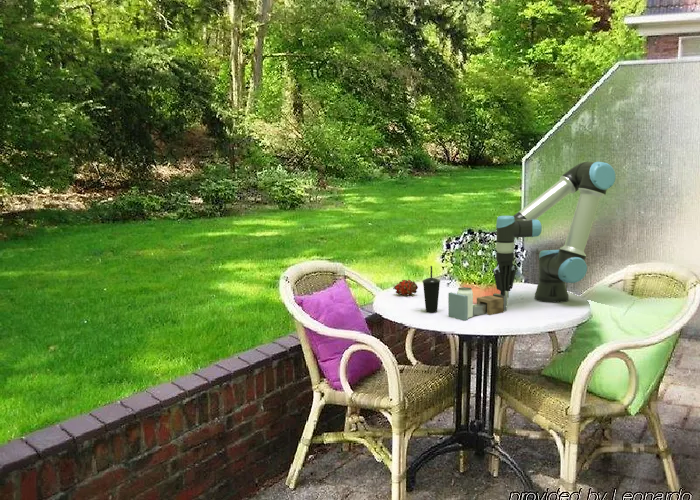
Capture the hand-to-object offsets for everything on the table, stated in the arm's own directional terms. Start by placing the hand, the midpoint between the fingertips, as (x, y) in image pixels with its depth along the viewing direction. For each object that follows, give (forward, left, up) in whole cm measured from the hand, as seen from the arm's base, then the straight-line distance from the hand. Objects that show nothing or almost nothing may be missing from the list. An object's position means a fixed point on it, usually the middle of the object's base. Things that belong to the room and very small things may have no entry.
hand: (504, 305), depth 304 cm
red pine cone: (+15, -51, -2) cm, 53 cm away
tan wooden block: (+9, 0, -2) cm, 9 cm away
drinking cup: (+28, -16, -2) cm, 32 cm away
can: (+23, 0, -2) cm, 23 cm away
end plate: (+27, 0, -2) cm, 27 cm away
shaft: (+11, 0, -1) cm, 11 cm away
